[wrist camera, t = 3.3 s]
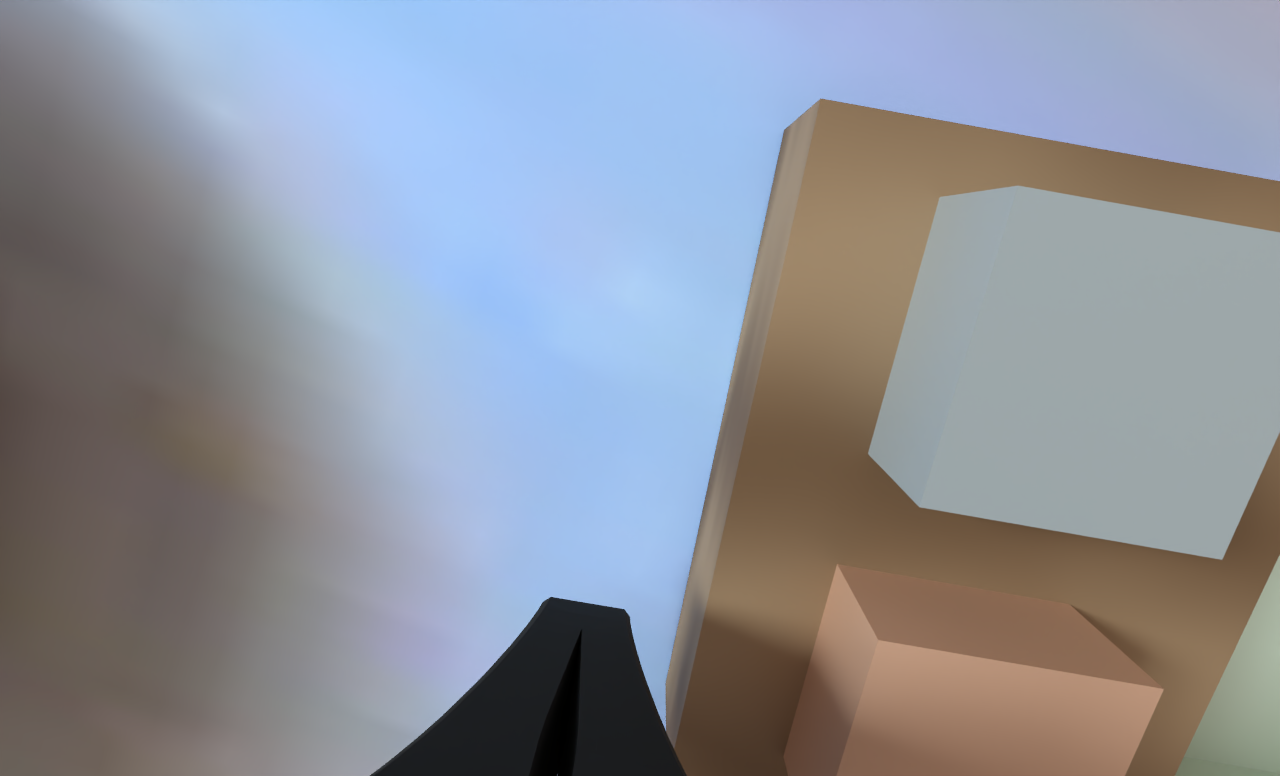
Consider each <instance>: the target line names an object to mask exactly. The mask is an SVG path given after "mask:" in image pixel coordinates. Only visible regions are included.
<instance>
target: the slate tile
mask: <svg viewBox="0 0 1280 776" xmlns="http://www.w3.org/2000/svg"><path fill="white" fill-rule="evenodd" d="M1279 433H1280V232H1274V231H1269V230H1263V229H1258V228H1252V227H1246V226H1241V225H1235V224H1230V223H1224V222H1219V221H1213V220H1207V219H1202V218H1196V217H1191V216H1185V215H1180V214H1174V213H1168V212H1163V211H1157V210H1152V209H1146V208H1140V207H1135V206H1129V205H1124V204H1118V203H1113V202H1107V201H1101V200H1096V199H1090V198H1085V197H1079V196H1074V195H1068V194H1062V193H1057V192H1051V191H1046V190H1040V189H1035V188H1029V187H1023V186H1012V187H1005V188H998V189H992V190H985V191H978V192H971V193H964V194H957V195H950V196H943V197H940V198H939V201H938V205H937V208H936V212H935V216H934V219H933V223H932V226H931V230H930V233H929V237H928V241H927V244H926V248H925V251H924V255H923V258H922V262H921V266H920V269H919V273H918V276H917V280H916V284H915V287H914V291H913V294H912V298H911V301H910V305H909V309H908V312H907V316H906V319H905V323H904V326H903V330H902V334H901V337H900V341H899V344H898V348H897V352H896V355H895V359H894V362H893V366H892V369H891V373H890V377H889V380H888V384H887V387H886V391H885V394H884V398H883V402H882V405H881V409H880V412H879V416H878V420H877V423H876V427H875V430H874V434H873V437H872V441H871V445H870V448H869V452H868V454H869V455H870V456H871V458H872V459H873V460H874V461H875V462H876V463H877V464H878V465H879V466H880V467H881V468H882V469H883V470H884V471H885V472H886V473H887V474H888V475H889V476H890V477H891V478H892V479H893V480H894V481H895V482H896V484H897V485H898V486H899V487H900V488H901V489H902V490H903V491H904V492H905V493H906V494H907V495H908V496H909V497H910V498H911V499H912V500H913V501H914V502H915V503H916V504H917V505H918V506H919V507H921V508H927V509H933V510H938V511H944V512H950V513H956V514H961V515H967V516H973V517H979V518H984V519H990V520H996V521H1002V522H1007V523H1013V524H1019V525H1025V526H1030V527H1036V528H1042V529H1048V530H1053V531H1059V532H1065V533H1071V534H1076V535H1082V536H1088V537H1094V538H1099V539H1105V540H1111V541H1117V542H1123V543H1128V544H1134V545H1140V546H1146V547H1151V548H1157V549H1163V550H1169V551H1174V552H1180V553H1186V554H1192V555H1197V556H1203V557H1209V558H1215V559H1220V560H1222V559H1223V557H1224V555H1225V552H1226V550H1227V548H1228V546H1229V544H1230V541H1231V539H1232V537H1233V535H1234V532H1235V530H1236V528H1237V526H1238V524H1239V521H1240V519H1241V517H1242V515H1243V512H1244V510H1245V508H1246V506H1247V504H1248V501H1249V499H1250V497H1251V495H1252V493H1253V490H1254V488H1255V486H1256V484H1257V481H1258V479H1259V477H1260V475H1261V473H1262V470H1263V468H1264V466H1265V464H1266V461H1267V459H1268V457H1269V455H1270V453H1271V450H1272V448H1273V446H1274V444H1275V441H1276V439H1277V437H1278V435H1279Z"/></svg>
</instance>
